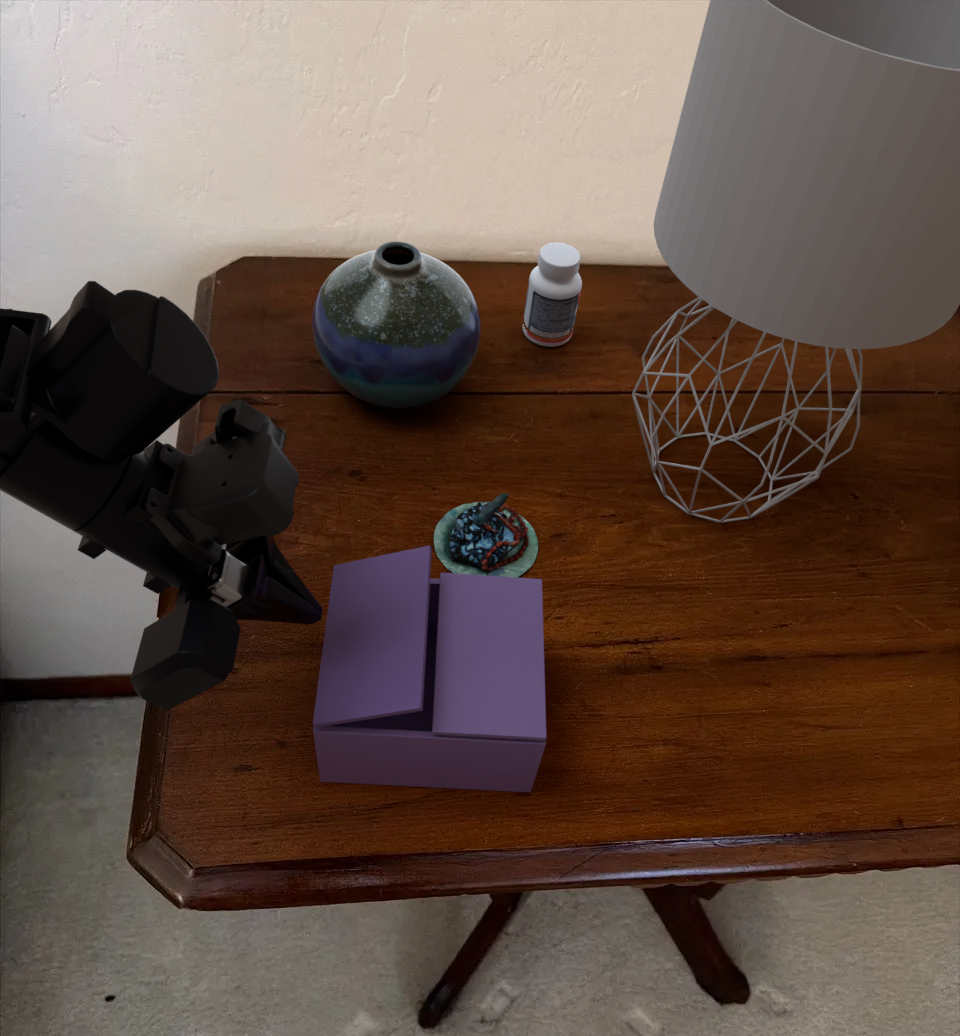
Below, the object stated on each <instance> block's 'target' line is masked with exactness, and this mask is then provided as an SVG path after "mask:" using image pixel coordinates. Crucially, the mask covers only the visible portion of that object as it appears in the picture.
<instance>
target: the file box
mask: <svg viewBox="0 0 960 1036" xmlns="http://www.w3.org/2000/svg"><path fill="white" fill-rule="evenodd" d="M543 599H544V598H543V579H542V578H528V577H527V578H526V577H517V578H515V577H500V576H485V575H470V574H454V573H453V572H440V573H439V578H434V577H433V578H432V577H430V591H429V608H428V625H427V642H426V660H425V677H424V694H423V710H422V711H418V712H412V713H405V714H399V715H392V716H386V717H380V718H373V719H367V720H360V721H354V722H347V723H341V724H335V725H328V726H322V727H314V726H313V730H312V732H313V739H314V747H315V754H316V762H317V768H318V769H317V770H318V777H319V782H320V783H339V784H358V785H375V786H376V785H379V786H395V787H396V786H399V787H413V788H414V787H416V788H417V787H418V788H435V789H436V788H437V789H452V790H453V789H457V790H475V791H494V792H495V791H496V792H513V793H531V792H532V789H533V786H534V784H535V780H536V777H537V774H538V771H539V767H540V765H541V761H542V757H543V755H544V753H545V748H546V745H547V707H546V705H547V704H546V674H545V673H546V671H545V670H546V669H545V635H544V634H545V632H544V600H543Z"/></svg>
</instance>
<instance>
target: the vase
mask: <svg viewBox="0 0 960 1036" xmlns="http://www.w3.org/2000/svg"><path fill="white" fill-rule="evenodd" d="M481 327H482V325H481V315H480V309H479V307H478V303H477V300H476V297H475V296H474V294H473V291H471V288H470V287H469V285H468V284H467V282H466V281H465V280H464V279H463V278H462V277H461V275H460V274H458V272H457V271H456V270H454V269H453V268H452V267H450V266H449V265H448V264H446V263H444V261H441V260H439V259H438V258H436V257H434V256H431V255H429V254H427V253H424V252H421V251H420V250H419V249H418V248H417V247H416V245H415V246H414V245H413V244H411V243H408V242H405V241H398V240H397V241H395V240H393V241H387V242H384V243H382V244H381V245H379V246H378V247H377V248H376V249H373V250H369V251H366V252H363V253H360V254H357V255H354V256H353V257H351V258H349V259H347V260H345V261H344V262H342V263H341V264H340V265H338V266H337V267H336V268H335V269H334V270H333V271H332V272H330V274H329V275H328V276H327V278H326V279H325V281H323V283H322V284H321V286H320V288H319V290H318V292H317V295H316V297H315V300H314V303H313V307H312V316H311V328H312V336H313V341H314V345H315V348H316V351H317V353H318V356H319V358H320V361H321V363H322V364H323V366H324V367H325V369H326V370H327V372H328V374H329V375H330V376H331V377H332V378H333V380H334V381H335V382H336V383H337V384H338V385H339V386H340V387H341V388H342V389H344V391H346V392H347V393H349V394H350V395H352V396H354V397H355V398H356V399H359V400H361V401H363V402H366V403H368V404H371V405H374V406H378V407H383V408H389V409H391V408H392V409H410V408H415V407H421V406H424V405H428V404H431V403H433V402H435V401H436V400H439V399H441V398H442V397H444V396H445V395H447V394H448V393H450V392H451V391H452V390H453V389H454V388H455V387H457V386H458V385H459V384H460V382H461V381H462V380H463V378H464V377H465V376H466V375H467V374H468V373H469V371H470V369H471V367H472V365H473V363H474V360H475V358H476V356H477V353H478V349H479V345H480V340H481V334H482V333H481V329H482V328H481Z"/></svg>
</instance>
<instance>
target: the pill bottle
mask: <svg viewBox="0 0 960 1036" xmlns="http://www.w3.org/2000/svg"><path fill="white" fill-rule="evenodd" d="M580 263H581V254H580V252H579V250H578V249H577V248H575V247H574V246H572V245H570V244H567V243H564V242H549V243H546V244H544V245H543V246H542V247H541V248H540V250H539V253H538V258H537V265H536V266H535V267H534V268H533V269H532V270H531V272H530V274H529V278H528V285H527V286H528V287H527V292H526V297H525V298H526V300H525V303H524V304H525V305H524V312H523V318H524V322H525V325H526V327H527V328H528V329H529V330H530V331H531V332H532V333H533V334H535V335H537V336H540V337H542V338H549V339H551V338H554V339H555V338H560V337H564V336H565V335H567V334H569V333H570V332H571V331H572V330H573V331H572V333H571V334H570V335H569V336H568V337H566V338H564V339H561V340H556V341H548V340H542V339H539V338H536V337H534V336H533V335H531V334H530V333H529V332H528V331H527V330H526V329H525V327H524V324H523V323H522V333H523V334H524V336H525V337H526V338H527V340H529V341H530V342H532V343H533V344H535V345H537V346H541V347H546V348H555V347H560V346H563V345H565V344H567V343H568V342H569V341H570V339H571V338H572V336H573V333H574V328H573V327H575V323H576V317H577V313H578V312H577V311H578V307H579V303H580V298H581V293H582V286H583V280H582V277H581V275H580V273H579V270H580Z"/></svg>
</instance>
